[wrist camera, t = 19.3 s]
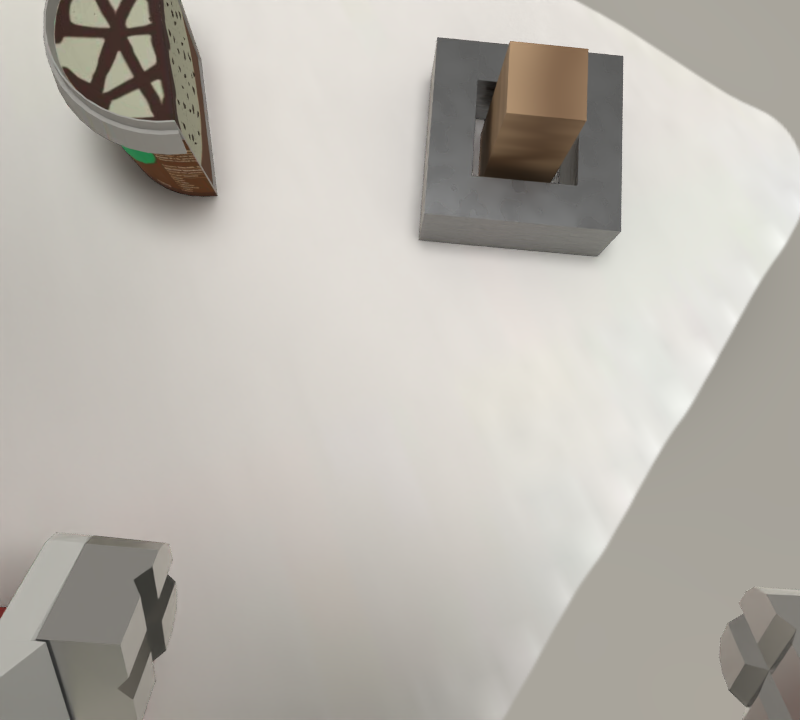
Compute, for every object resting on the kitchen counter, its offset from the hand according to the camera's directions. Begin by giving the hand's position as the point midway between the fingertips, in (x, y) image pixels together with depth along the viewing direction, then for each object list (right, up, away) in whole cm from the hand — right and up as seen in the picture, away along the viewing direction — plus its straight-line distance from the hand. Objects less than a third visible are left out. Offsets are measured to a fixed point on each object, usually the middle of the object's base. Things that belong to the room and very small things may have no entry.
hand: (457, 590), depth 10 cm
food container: (-16, +17, +33) cm, 40 cm away
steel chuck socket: (+6, +16, +33) cm, 37 cm away
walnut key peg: (+6, +16, +33) cm, 37 cm away
